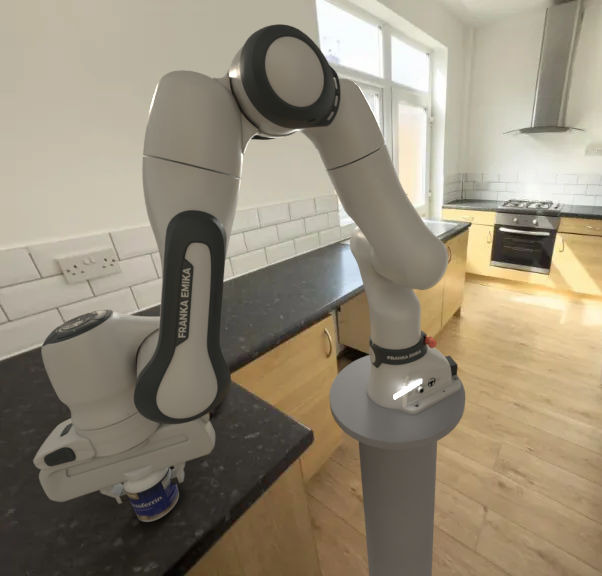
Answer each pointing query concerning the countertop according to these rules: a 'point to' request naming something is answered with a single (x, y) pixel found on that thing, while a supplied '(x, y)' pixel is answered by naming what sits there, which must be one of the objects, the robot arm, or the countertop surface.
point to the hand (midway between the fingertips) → (153, 489)
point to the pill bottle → (151, 492)
